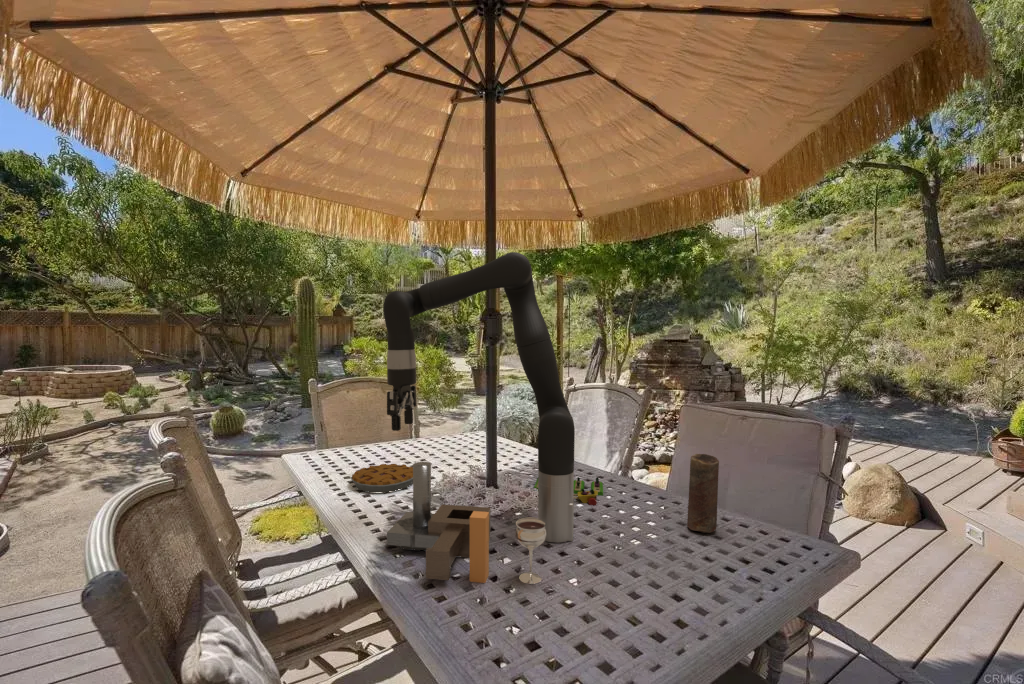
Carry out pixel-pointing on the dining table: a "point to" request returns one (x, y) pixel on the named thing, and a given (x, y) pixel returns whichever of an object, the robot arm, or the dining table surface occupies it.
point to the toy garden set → (585, 495)
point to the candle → (703, 493)
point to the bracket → (449, 538)
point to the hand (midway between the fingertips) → (402, 427)
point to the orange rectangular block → (479, 546)
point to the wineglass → (530, 542)
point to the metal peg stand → (416, 514)
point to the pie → (383, 478)
